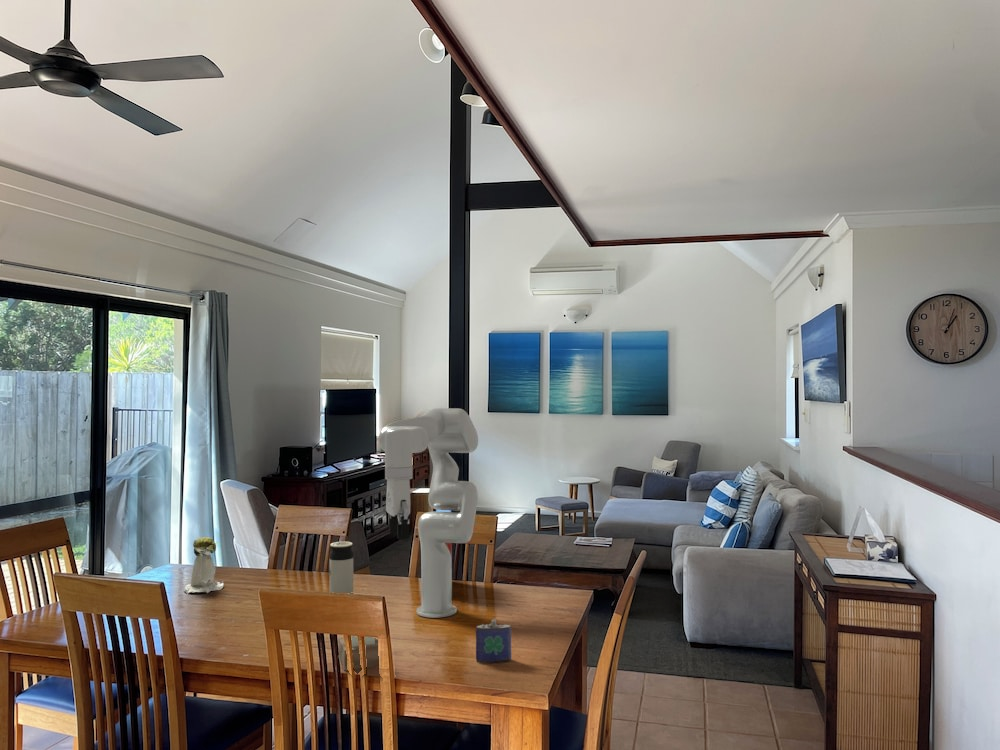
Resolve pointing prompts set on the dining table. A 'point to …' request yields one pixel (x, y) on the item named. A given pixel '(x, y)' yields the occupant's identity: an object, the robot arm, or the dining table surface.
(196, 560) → the white figurine
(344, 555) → the travel mug
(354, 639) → the sage block
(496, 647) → the flask
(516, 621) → the dining table surface
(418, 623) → the dining table surface
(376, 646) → the walnut block
